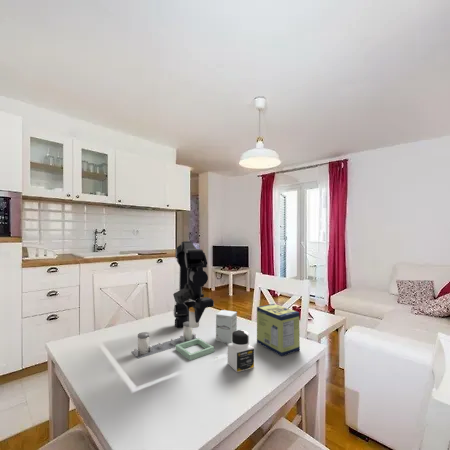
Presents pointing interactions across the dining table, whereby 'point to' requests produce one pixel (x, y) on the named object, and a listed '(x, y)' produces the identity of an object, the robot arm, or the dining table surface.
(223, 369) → the dining table surface
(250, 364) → the medicine bottle
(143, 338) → the block
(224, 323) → the supplement box
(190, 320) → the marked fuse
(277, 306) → the protein box
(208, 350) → the tray
